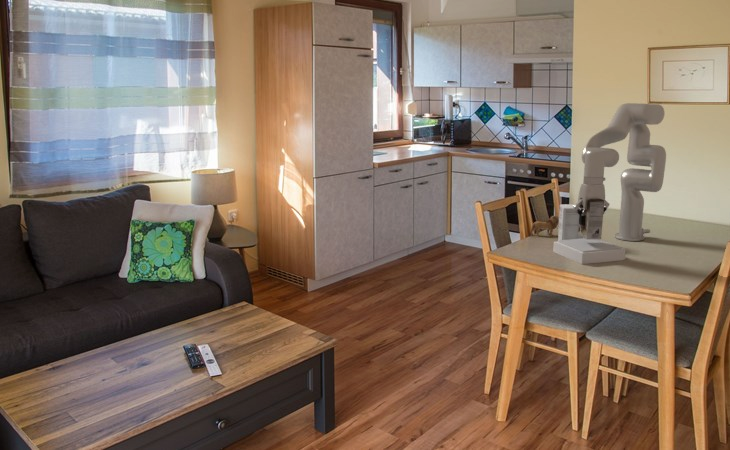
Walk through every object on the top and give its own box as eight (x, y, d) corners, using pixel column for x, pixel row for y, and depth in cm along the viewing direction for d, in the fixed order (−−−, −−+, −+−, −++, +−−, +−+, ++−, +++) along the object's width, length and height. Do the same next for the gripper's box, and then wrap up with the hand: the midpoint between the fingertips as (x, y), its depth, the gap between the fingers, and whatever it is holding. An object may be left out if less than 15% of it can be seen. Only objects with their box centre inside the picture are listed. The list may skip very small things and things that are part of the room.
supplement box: (579, 241, 296) (581, 204, 292) (583, 246, 287) (586, 208, 283) (557, 240, 297) (559, 203, 293) (561, 245, 288) (563, 207, 284)
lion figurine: (554, 233, 312) (555, 214, 310) (560, 235, 307) (561, 216, 305) (526, 235, 308) (527, 216, 306) (531, 237, 303) (532, 218, 301)
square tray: (593, 248, 284) (594, 236, 283) (624, 259, 265) (625, 247, 264) (553, 251, 278) (553, 240, 277) (581, 264, 260) (582, 251, 259)
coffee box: (577, 234, 274) (579, 196, 271) (592, 234, 275) (595, 195, 271) (586, 239, 265) (589, 200, 262) (602, 239, 266) (604, 199, 262)
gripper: (605, 178, 271) (602, 221, 275) (568, 180, 266) (566, 223, 270) (617, 181, 264) (614, 224, 268) (580, 183, 259) (577, 227, 263)
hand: (590, 224), depth 269 cm, fingers closed on coffee box, 7 cm apart
